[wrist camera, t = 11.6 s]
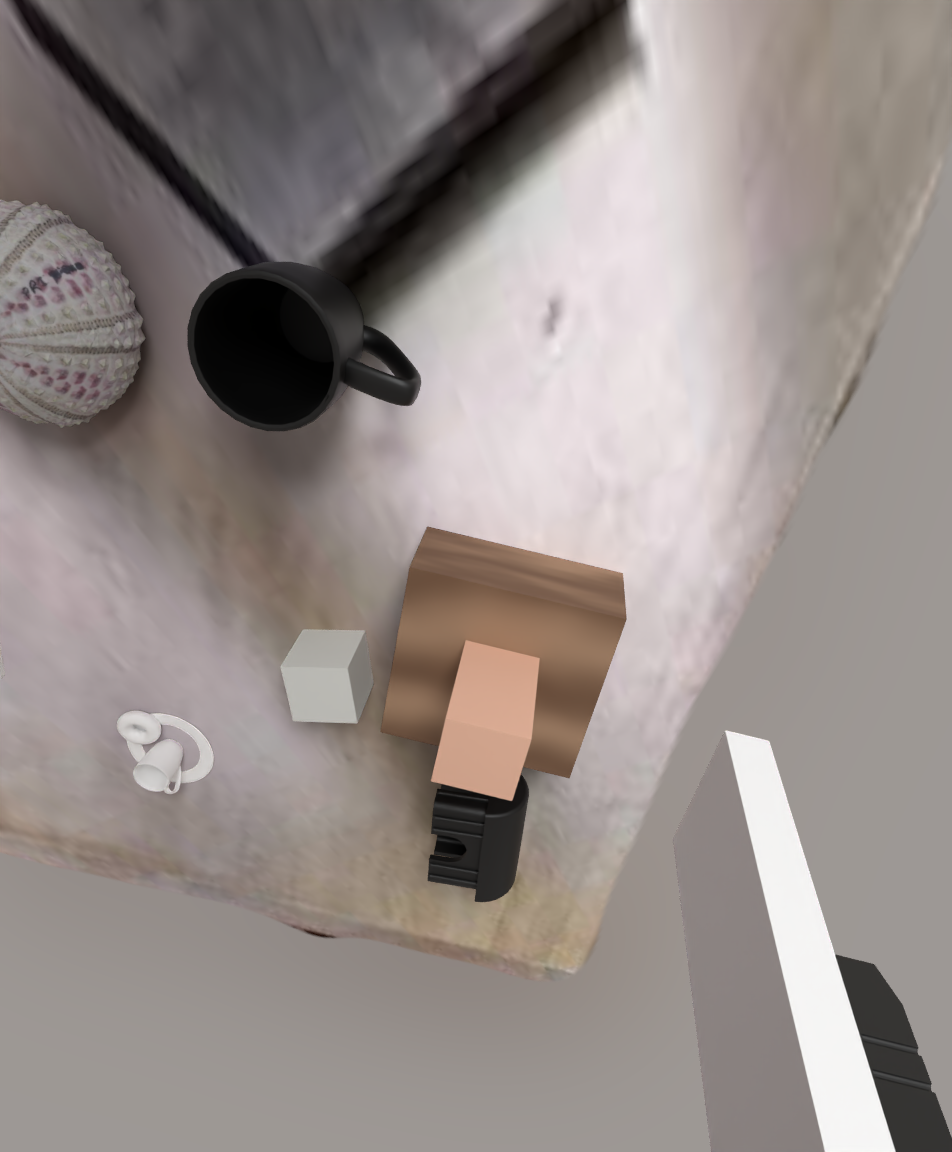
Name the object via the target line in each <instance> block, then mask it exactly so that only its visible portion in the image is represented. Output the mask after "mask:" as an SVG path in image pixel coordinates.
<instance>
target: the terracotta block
mask: <svg viewBox="0 0 952 1152" xmlns="http://www.w3.org/2000/svg"><path fill="white" fill-rule="evenodd" d="M539 660H540V658H537V657H533V656H529V655H525V654H520V653H516V652H512V651H508V650H504V649H500V648H496V647H492V646H487V645H483V644H479V643H475V642H471V641H467V640H466V641H465V645H464V649H463V653H462V657H461V661H460V664H459V668H458V672H457V676H456V680H455V684H454V688H453V692H452V696H451V700H450V703H449V707H448V711H447V715H446V719H445V723H444V728H443V732H442V736H441V740H440V745H439V749H438V753H437V757H436V762H435V766H434V770H433V775H432V779H431V781H432V782H436V783H440V784H444V785H449V786H453V787H457V788H461V789H465V790H469V791H473V792H477V793H481V794H485V795H489V796H493V797H497V798H501V799H505V800H509V801H512V800H513V797H514V794H515V790H516V787H517V784H518V781H519V778H520V775H521V771H522V768H523V765H524V762H525V759H526V756H527V752H528V749H529V746H530V743H531V740H532V730H533V720H534V710H535V700H536V690H537V680H538V670H539Z"/></svg>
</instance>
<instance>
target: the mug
mask: <svg viewBox="0 0 952 1152" xmlns="http://www.w3.org/2000/svg"><path fill="white" fill-rule="evenodd" d="M188 350H189V355H190V360H191V364H192V367H193V369H194V371H195V374H196V376H197V379H198V381H199V382H200V384H201V385H202V387H203V388H204V390H205V391H206V393H207V395H208V396H209V397H210V398H211V399H212V400H213V401H214V402H215V403H216V404H217V405H218V407H219V408H220V409H222V410H223V411H224V412H226V413H227V414H228V415H230V416H231V417H233V418H234V419H235V420H237V421H240V422H242V423H244V424H246V425H248V426H250V427H254V428H258V429H262V430H266V431H288V430H293V429H297V428H301V427H303V426H305V425H307V424H309V423H311V422H313V421H315V420H316V419H317V418H318V417H319V416H320V415H321V414H323V413H324V412H325V411H326V410H327V409H328V408H329V407H330V406H331V405H332V404H333V403H334V402H335V401H336V400H337V399H338V398H339V397H340V396H341V395H342V394H343V393H344V391H345V390H346V388H347V387H348V386H350V387H352V388H354V389H356V390H359V391H361V392H363V393H366V394H368V395H370V396H373V397H375V398H378V399H381V400H383V401H386V402H389V403H393V404H396V405H401V406H410V405H412V404H413V403H414V401H415V400H416V398H417V396H418V393H419V390H420V386H421V378H420V374H419V373H418V371H417V370H416V368H415V367H414V366H413V364H412V363H411V362H410V361H409V360H408V358H407V357H406V356H405V355H404V354H403V352H402V351H401V350H400V349H399V348H398V347H397V346H396V345H395V343H394V342H393V341H392V340H390V339H389V338H388V337H387V336H386V335H384V334H383V333H381V332H379V331H378V330H376V329H373V328H371V327H368V326H365V325H364V320H363V314H362V310H361V307H360V304H359V302H358V301H357V299H356V297H355V295H354V294H353V293H352V292H351V290H350V289H349V288H348V287H347V286H346V285H345V284H343V283H342V282H341V281H340V280H338V279H336V278H334V277H333V276H331V275H329V274H327V273H325V272H323V271H321V270H319V269H317V268H314V267H311V266H307V265H303V264H299V263H294V262H264V263H260V264H257V265H253V266H249V267H246V268H242V269H239V270H236V271H233V272H230V273H226V274H225V275H223V276H221V277H220V278H218V279H216V280H215V281H213V282H211V283H210V285H209V286H208V287H207V288H206V289H205V290H204V291H203V292H202V293H201V294H200V296H199V298H198V300H197V301H196V303H195V305H194V307H193V309H192V312H191V316H190V320H189V324H188ZM362 350H363V351H366V352H368V353H370V354H372V355H374V356H375V357H377V358H378V359H380V360H381V361H382V362H383V363H384V364H385V365H386V366H387V367H388V368H389V369H390V370H391V372H392V373H393V374H394V375H395V376H392V375H390V374H387V373H384V372H382V371H379V370H377V369H374V368H372V367H369V366H367V365H365V364H363V363H360V362H359V361H360V358H361V355H362Z"/></svg>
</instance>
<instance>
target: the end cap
mask: <svg viewBox="0 0 952 1152" xmlns="http://www.w3.org/2000/svg"><path fill="white" fill-rule="evenodd" d="M528 797H529V789H528V785H527V783H526V781H525V779H524V777H523V776H522V775H520V778H519V781H518V784H517V787H516V790H515V794H514V797H513V800H512V801H509V800H505V799H501V798H497V797H493V796H489V795H485V794H481V793H477V792H473V791H469V790H465V789H461V788H457V787H453V786H449V785H444V784H442V786H441V789H437V793H436V797H435V802H434V808H433V819H432V832H431V834H437V841H436V846H435V850H434V854H435V855H430V858H429V870H428V881H431V882H437V883H443V884H449V885H455V886H461V887H467V888H472V889H476V895H475V902H489V901H493V900H496V899H498V898H500V897H502V896H503V895H505V894H506V893H507V892H508V891H509V890H510V889H511V887H512V885H513V883H514V881H515V876H516V870H517V864H518V858H519V852H520V846H521V840H522V834H523V827H524V821H525V815H526V809H527V803H528ZM436 855H441V856H436ZM443 856H447V857H443ZM449 857H453V858H449Z"/></svg>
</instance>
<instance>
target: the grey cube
mask: <svg viewBox="0 0 952 1152" xmlns="http://www.w3.org/2000/svg"><path fill="white" fill-rule="evenodd" d="M281 671H282V676H283V680H284V684H285V688H286V693H287V697H288V701H289V706H290V710H291V714H292V719H293V721H300V722H330V723H358V721H359V719H360V716H361V714H362V711H363V709H364V706H365V704H366V701H367V699H368V697H369V694H370V692H371V689H372V687H373V684H374V681H373V675H372V668H371V662H370V656H369V650H368V644H367V638H366V631H365V630H302V632H301V634H300V635H299V637H298V638H297V640H296V642H295V643H294V645H293V647H292V648H291V650H290V652H289V653H288V655H287V657H286V658H285V660H284V662H283V663H282V665H281Z"/></svg>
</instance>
